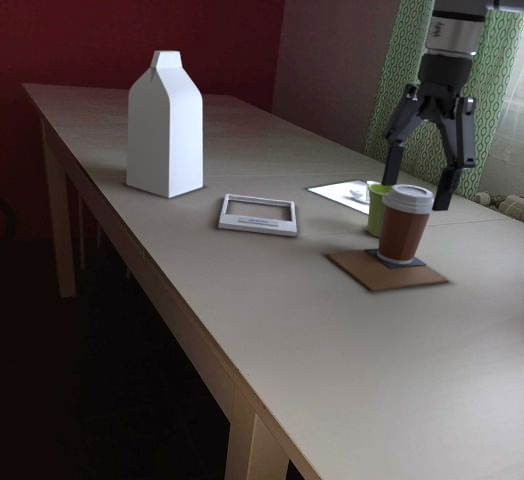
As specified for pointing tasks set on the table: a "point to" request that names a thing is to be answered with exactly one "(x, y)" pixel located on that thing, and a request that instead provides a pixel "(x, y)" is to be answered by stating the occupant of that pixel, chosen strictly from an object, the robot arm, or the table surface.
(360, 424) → the table surface
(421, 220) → the coffee cup
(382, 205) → the plant pot
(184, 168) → the milk
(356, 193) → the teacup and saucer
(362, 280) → the placemat
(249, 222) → the photo frame
